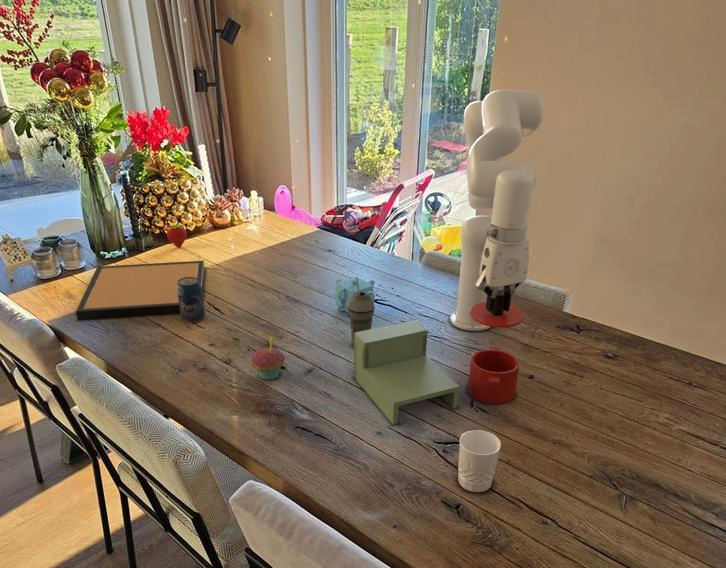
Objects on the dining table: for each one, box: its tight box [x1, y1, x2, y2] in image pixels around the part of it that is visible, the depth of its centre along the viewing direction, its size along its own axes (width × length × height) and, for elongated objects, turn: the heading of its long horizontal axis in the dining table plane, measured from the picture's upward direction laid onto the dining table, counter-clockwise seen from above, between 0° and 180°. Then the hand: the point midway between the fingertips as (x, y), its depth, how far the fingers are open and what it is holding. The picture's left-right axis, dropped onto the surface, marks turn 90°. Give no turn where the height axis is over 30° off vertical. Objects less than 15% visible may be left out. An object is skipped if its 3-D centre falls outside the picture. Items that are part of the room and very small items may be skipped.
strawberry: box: [166, 222, 188, 249], centre depth 234 cm, size 6×8×10 cm
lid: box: [470, 289, 525, 329], centre depth 142 cm, size 12×12×6 cm
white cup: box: [457, 429, 502, 493], centre depth 124 cm, size 8×8×10 cm
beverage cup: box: [347, 276, 375, 348], centre depth 169 cm, size 7×7×20 cm
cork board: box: [75, 260, 206, 321], centre depth 202 cm, size 36×3×35 cm
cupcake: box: [250, 334, 286, 380], centre depth 157 cm, size 9×8×12 cm
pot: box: [467, 346, 520, 405], centre depth 153 cm, size 11×17×8 cm
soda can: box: [176, 277, 206, 324], centre depth 184 cm, size 7×7×12 cm
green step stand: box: [353, 319, 460, 425], centre depth 151 cm, size 22×17×13 cm
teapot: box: [334, 276, 376, 314], centre depth 190 cm, size 18×14×10 cm
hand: (497, 309), depth 143 cm, fingers closed on lid, 2 cm apart
